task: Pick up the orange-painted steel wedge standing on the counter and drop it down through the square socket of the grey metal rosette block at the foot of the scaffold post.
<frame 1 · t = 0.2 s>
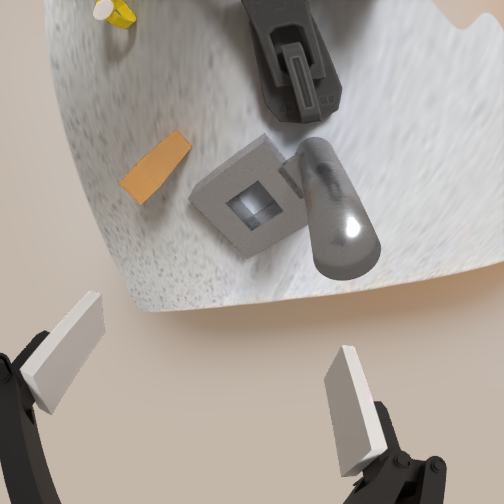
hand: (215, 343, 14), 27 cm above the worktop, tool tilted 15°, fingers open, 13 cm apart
watch: (127, 12, 23), on the worktop
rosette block: (256, 192, 38), on the worktop
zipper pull: (281, 24, 24), on the worktop
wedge: (175, 145, 35), on the worktop
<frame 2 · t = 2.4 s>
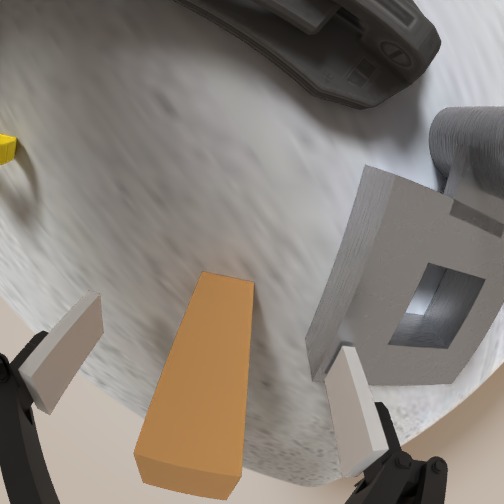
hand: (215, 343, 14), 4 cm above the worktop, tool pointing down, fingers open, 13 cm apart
watch: (7, 143, 14), on the worktop
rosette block: (413, 279, 17), on the worktop
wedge: (223, 298, 18), on the worktop
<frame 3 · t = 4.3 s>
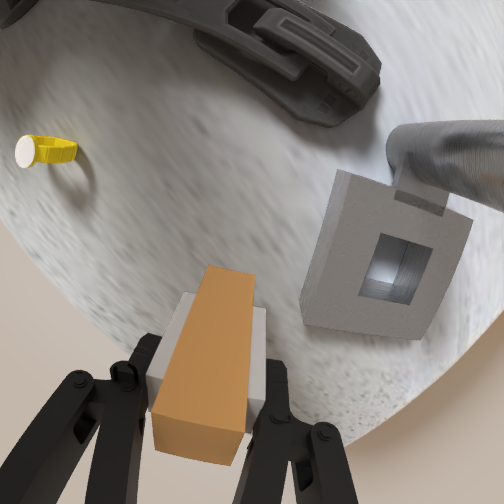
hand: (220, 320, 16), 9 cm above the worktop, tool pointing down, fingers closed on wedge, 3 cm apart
watch: (65, 146, 22), on the worktop
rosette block: (379, 253, 24), on the worktop
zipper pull: (232, 24, 18), on the worktop
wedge: (227, 290, 20), point 5 cm above the worktop, touching gripper
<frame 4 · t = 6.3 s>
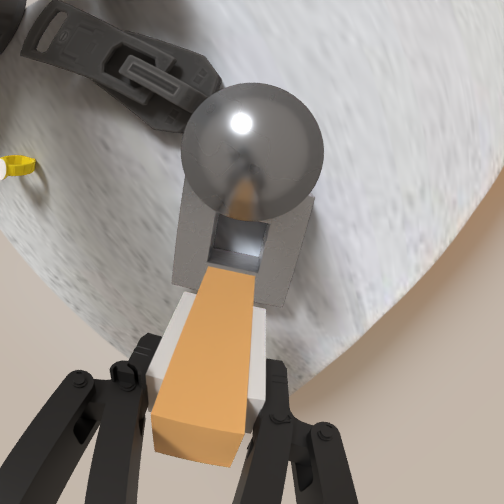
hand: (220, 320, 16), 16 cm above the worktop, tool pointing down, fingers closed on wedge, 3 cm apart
watch: (29, 161, 28), on the worktop
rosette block: (240, 230, 31), on the worktop
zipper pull: (123, 62, 24), on the worktop
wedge: (227, 291, 20), point 12 cm above the worktop, touching gripper
when the fingers open (6 cm above the worktop, at t = 8.6 s): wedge drops 2 cm, resting in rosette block.
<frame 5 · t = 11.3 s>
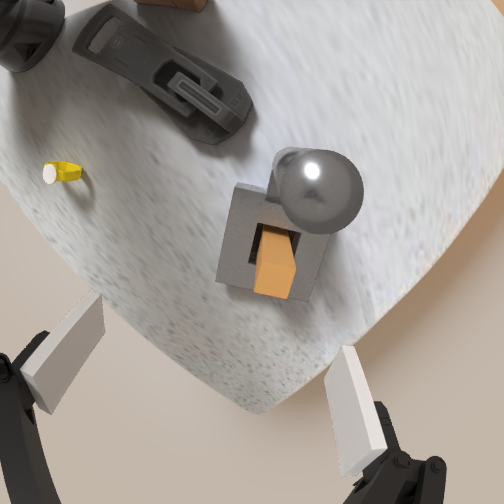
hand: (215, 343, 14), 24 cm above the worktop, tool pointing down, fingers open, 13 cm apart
watch: (73, 168, 35), on the worktop
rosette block: (273, 237, 37), on the worktop
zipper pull: (167, 73, 30), on the worktop
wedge: (272, 239, 37), resting in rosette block
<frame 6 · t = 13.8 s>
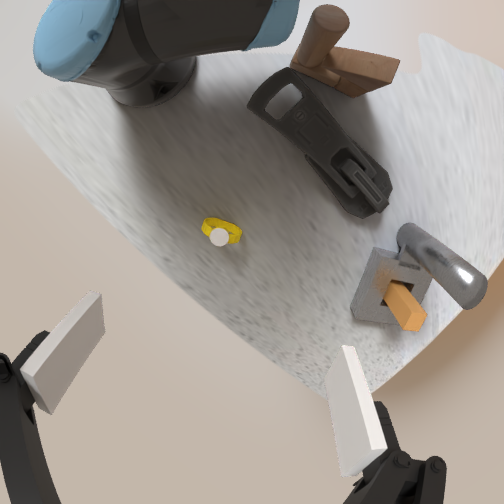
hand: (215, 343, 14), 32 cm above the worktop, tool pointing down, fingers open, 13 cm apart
watch: (224, 224, 45), on the worktop
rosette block: (389, 283, 48), on the worktop
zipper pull: (324, 147, 40), on the worktop
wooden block: (325, 73, 35), on the worktop
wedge: (388, 284, 48), resting in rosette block
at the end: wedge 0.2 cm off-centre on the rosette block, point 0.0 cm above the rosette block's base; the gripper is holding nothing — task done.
